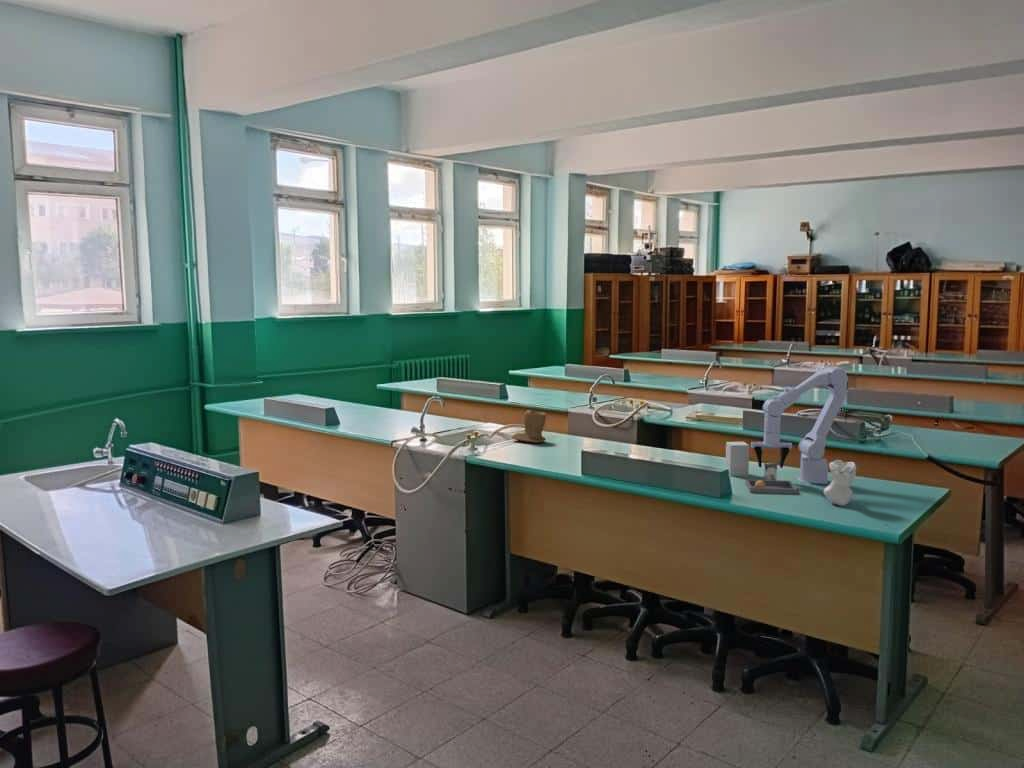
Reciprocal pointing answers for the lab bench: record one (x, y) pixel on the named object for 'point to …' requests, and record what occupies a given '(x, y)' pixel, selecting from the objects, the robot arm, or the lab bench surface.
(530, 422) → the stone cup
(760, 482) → the ball
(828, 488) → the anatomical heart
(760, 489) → the tray
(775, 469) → the shaker
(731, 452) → the supplement box
